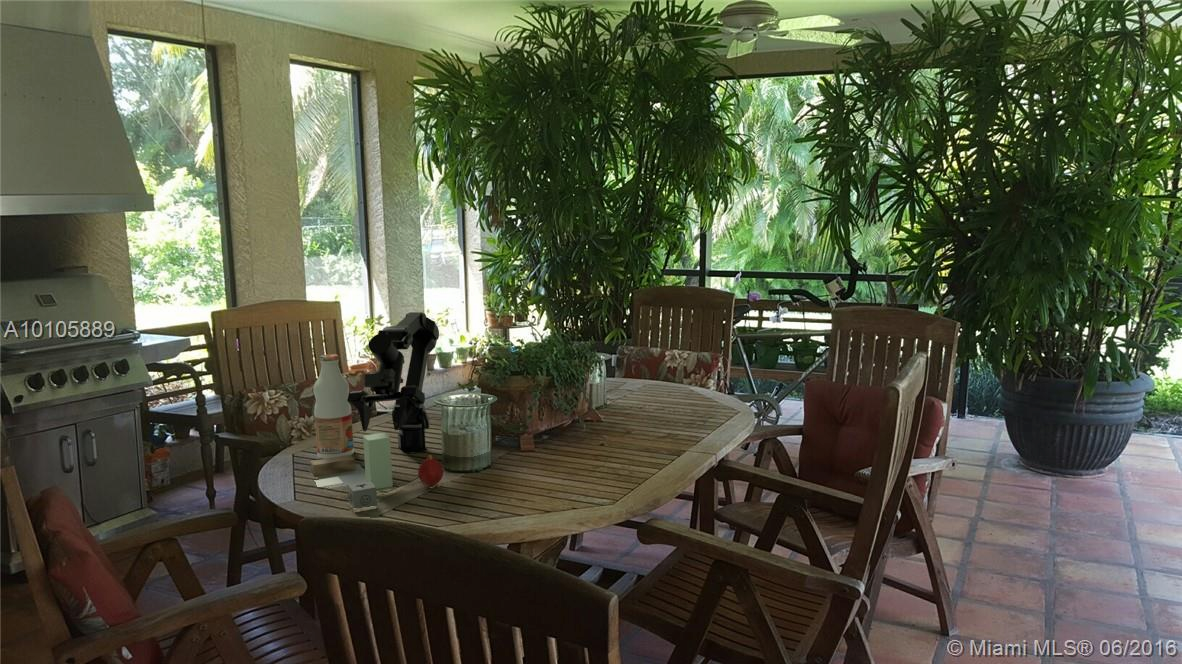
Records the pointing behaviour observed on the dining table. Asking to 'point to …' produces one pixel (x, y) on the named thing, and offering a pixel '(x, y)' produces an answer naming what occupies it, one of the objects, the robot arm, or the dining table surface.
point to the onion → (430, 471)
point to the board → (342, 478)
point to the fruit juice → (332, 411)
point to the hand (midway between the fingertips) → (381, 429)
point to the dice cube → (362, 494)
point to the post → (378, 460)
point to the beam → (332, 465)
